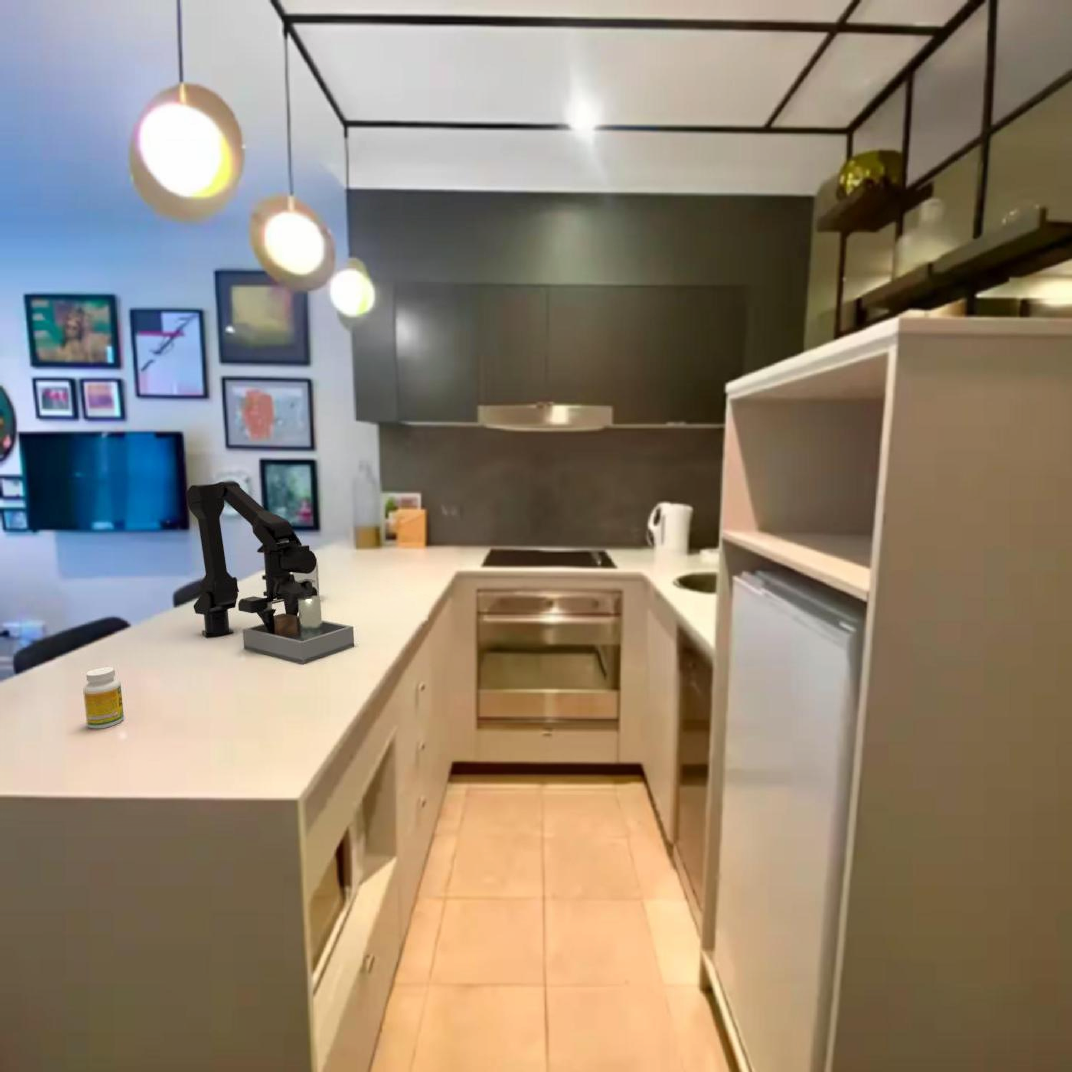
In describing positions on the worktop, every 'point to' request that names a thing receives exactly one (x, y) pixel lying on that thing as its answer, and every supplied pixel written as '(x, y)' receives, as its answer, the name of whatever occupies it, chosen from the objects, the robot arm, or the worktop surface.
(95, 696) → the supplement bottle
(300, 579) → the supplement box
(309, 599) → the sage tin
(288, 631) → the walnut cube
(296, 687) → the worktop surface
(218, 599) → the robot arm
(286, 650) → the tote
